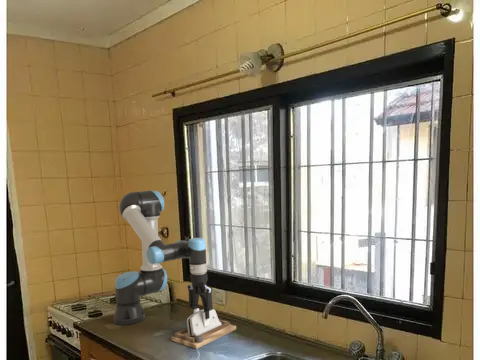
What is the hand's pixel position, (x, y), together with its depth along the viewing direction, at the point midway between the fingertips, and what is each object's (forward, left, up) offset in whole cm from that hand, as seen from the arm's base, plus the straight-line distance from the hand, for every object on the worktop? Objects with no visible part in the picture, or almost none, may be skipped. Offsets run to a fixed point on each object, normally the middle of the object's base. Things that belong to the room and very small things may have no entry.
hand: (201, 324), depth 182 cm
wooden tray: (+1, 0, -4) cm, 5 cm away
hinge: (+1, 0, -3) cm, 3 cm away
